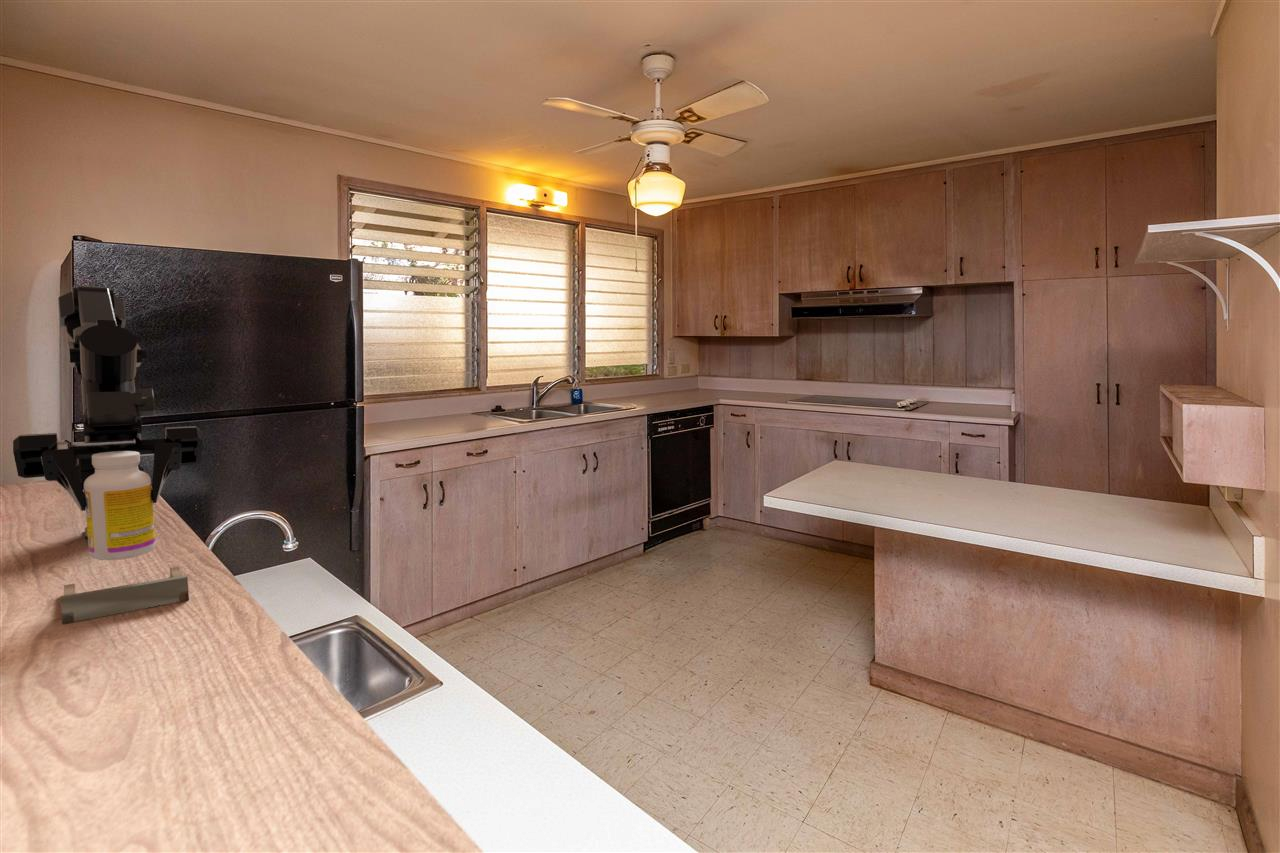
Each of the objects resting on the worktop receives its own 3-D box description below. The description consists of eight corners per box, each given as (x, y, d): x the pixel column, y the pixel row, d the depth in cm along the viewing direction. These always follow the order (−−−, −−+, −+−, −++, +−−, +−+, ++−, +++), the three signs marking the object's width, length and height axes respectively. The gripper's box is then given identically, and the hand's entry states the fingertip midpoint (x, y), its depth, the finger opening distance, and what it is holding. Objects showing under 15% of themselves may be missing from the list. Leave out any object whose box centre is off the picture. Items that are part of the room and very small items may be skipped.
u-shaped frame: (65, 594, 83) (63, 571, 83) (179, 574, 91) (178, 554, 91) (62, 624, 75) (60, 599, 74) (188, 599, 82) (187, 577, 82)
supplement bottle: (168, 547, 86) (163, 450, 84) (124, 563, 79) (117, 459, 78) (122, 543, 86) (115, 448, 85) (74, 560, 80) (66, 456, 78)
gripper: (6, 367, 77) (7, 476, 70) (197, 367, 89) (213, 460, 82) (18, 425, 84) (19, 529, 77) (193, 418, 96) (207, 507, 89)
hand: (120, 504), depth 81 cm, fingers closed on supplement bottle, 7 cm apart
